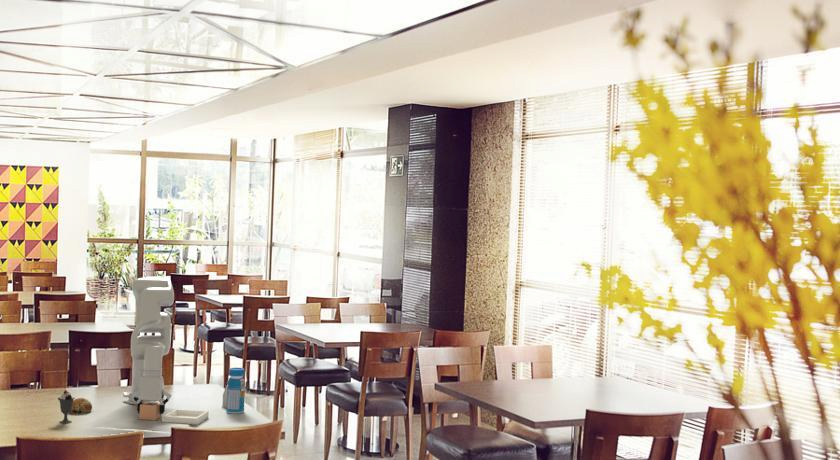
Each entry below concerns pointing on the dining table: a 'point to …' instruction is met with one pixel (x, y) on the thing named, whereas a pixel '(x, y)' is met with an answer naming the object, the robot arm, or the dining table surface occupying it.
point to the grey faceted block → (225, 397)
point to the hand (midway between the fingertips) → (150, 413)
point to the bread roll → (81, 406)
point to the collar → (150, 411)
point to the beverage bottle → (235, 391)
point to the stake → (149, 420)
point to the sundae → (66, 405)
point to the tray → (186, 416)
